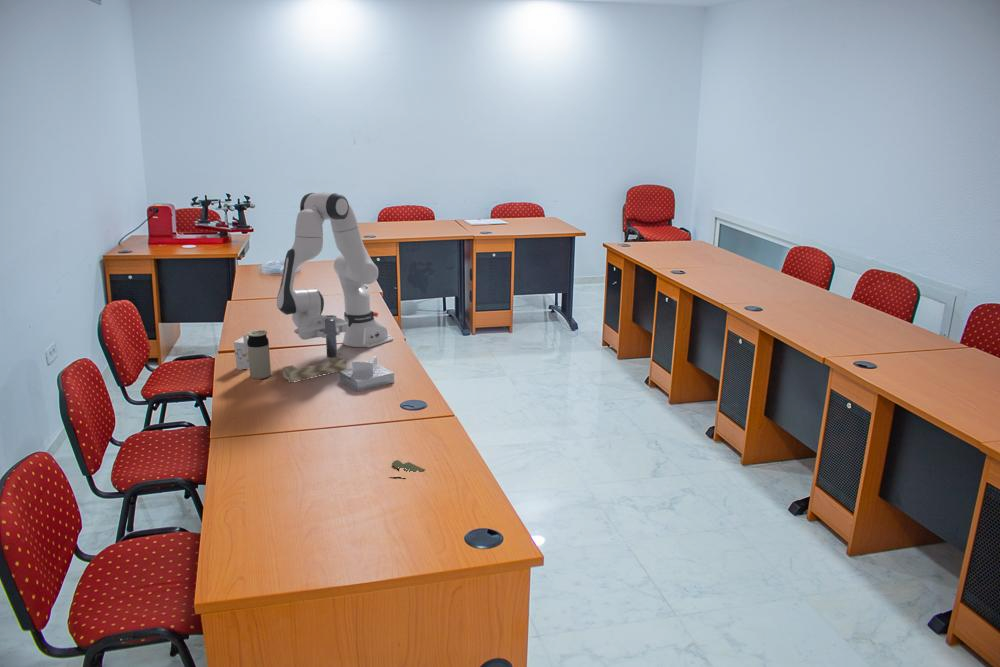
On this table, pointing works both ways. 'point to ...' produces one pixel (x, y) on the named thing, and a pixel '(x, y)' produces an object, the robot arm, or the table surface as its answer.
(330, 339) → the steel axle
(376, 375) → the v block
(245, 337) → the ink cartridge box
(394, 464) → the olive green flat piece
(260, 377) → the travel mug
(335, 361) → the notched beam
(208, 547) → the table surface
